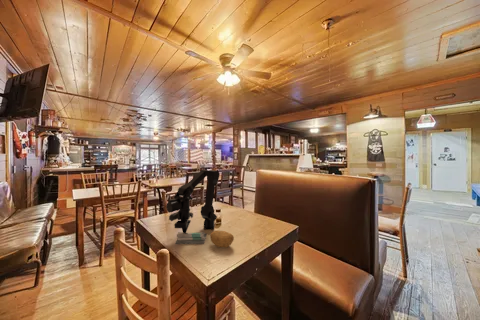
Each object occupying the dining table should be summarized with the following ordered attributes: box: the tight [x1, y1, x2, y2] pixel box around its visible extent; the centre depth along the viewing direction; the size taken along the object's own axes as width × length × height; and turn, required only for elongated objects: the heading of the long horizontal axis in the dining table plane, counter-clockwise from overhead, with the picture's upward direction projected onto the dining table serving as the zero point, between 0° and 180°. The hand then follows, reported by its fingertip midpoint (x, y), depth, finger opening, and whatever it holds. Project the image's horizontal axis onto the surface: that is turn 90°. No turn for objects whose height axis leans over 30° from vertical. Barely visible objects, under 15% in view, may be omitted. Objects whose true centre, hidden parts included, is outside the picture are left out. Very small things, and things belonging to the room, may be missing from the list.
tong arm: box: [176, 231, 206, 239], centre depth 107 cm, size 16×2×2 cm, turn 90°
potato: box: [209, 230, 235, 249], centre depth 102 cm, size 10×14×8 cm
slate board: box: [174, 233, 208, 245], centre depth 109 cm, size 16×11×2 cm
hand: (184, 233), depth 110 cm, fingers closed
